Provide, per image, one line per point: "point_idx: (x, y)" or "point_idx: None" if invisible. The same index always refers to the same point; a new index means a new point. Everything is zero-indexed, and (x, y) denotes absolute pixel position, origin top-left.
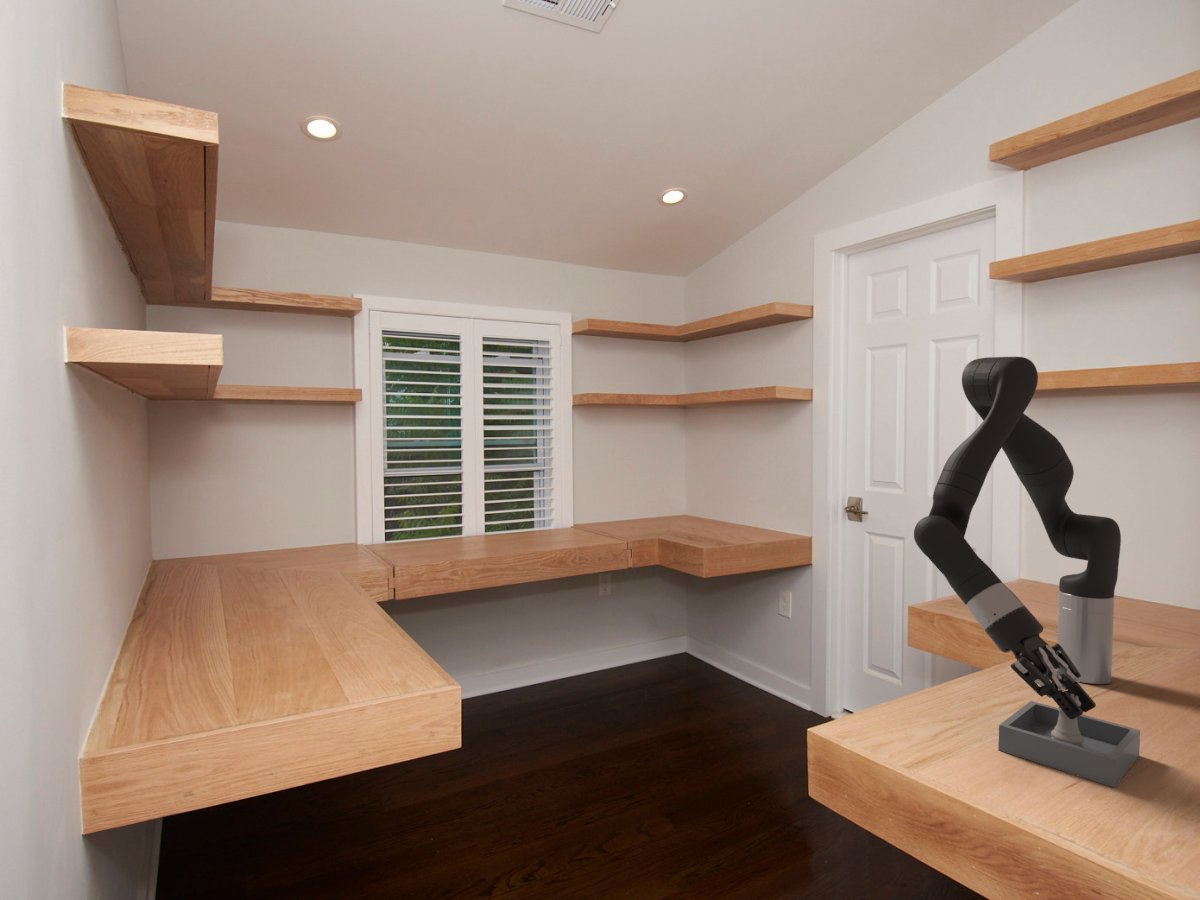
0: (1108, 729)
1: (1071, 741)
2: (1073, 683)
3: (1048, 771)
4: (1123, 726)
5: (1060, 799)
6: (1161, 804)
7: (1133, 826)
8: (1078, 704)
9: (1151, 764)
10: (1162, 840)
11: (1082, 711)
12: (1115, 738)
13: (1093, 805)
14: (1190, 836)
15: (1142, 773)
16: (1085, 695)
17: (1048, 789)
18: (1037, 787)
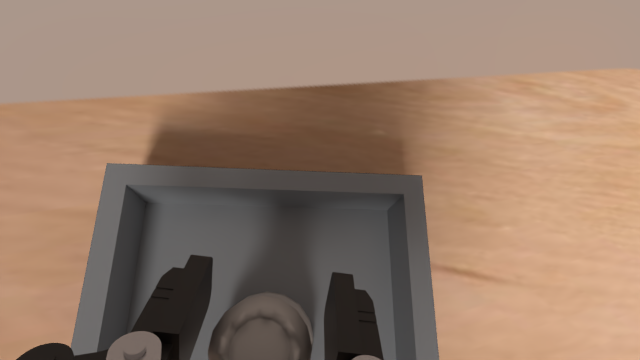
0: (123, 249)
1: (307, 317)
2: (167, 356)
3: (437, 337)
4: (107, 206)
5: (558, 271)
6: (397, 121)
7: (538, 146)
8: (279, 302)
9: (178, 160)
10: (543, 106)
11: (335, 273)
12: (133, 234)
13: (521, 214)
14: (487, 76)
15: (257, 168)
16: (198, 290)
17: (535, 305)
18: (549, 328)
